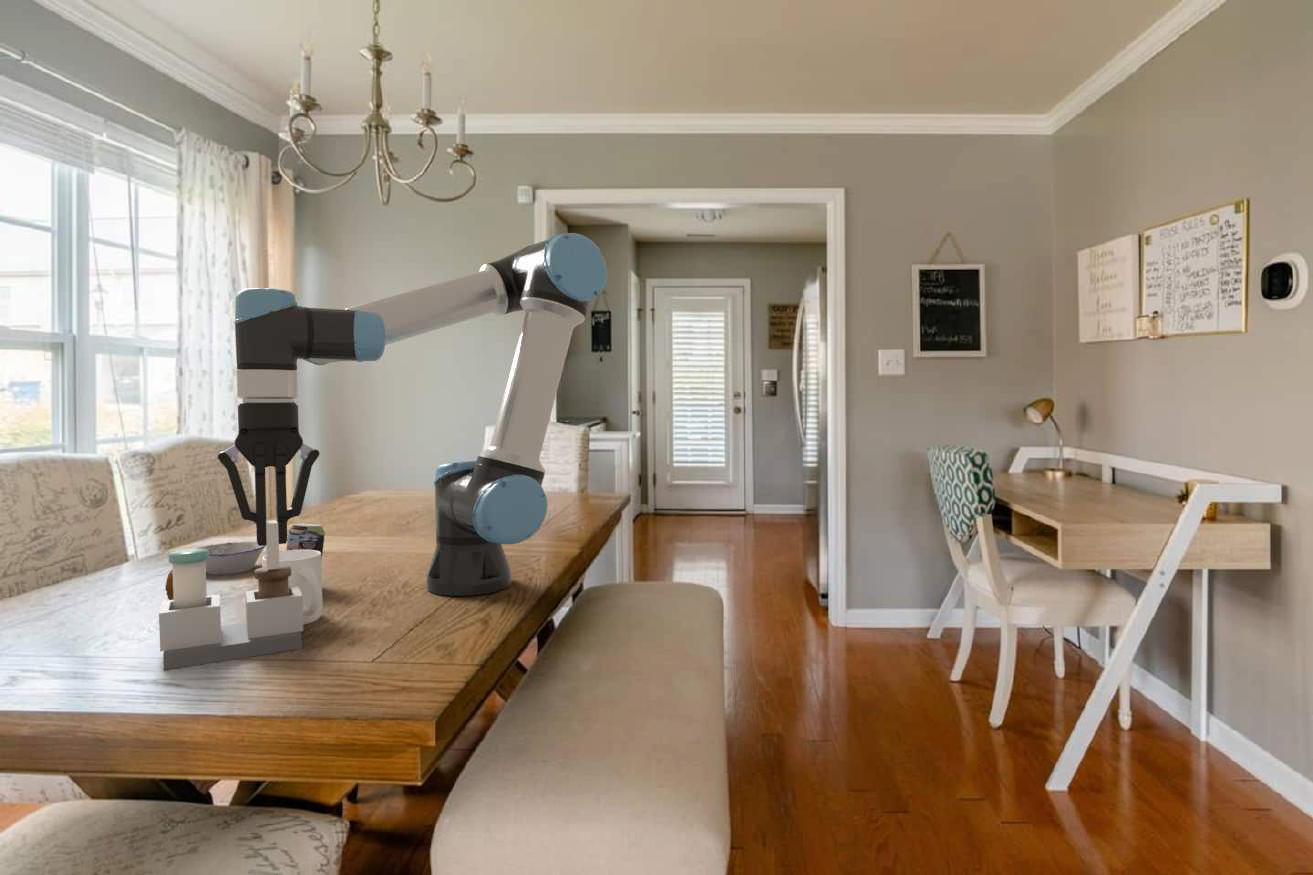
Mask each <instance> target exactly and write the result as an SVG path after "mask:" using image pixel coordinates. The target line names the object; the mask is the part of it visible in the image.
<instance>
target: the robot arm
mask: <svg viewBox="0 0 1313 875" xmlns="http://www.w3.org/2000/svg"><path fill="white" fill-rule="evenodd" d="M607 280H608V267H607V262H606V259H605V257H604V256H603V254H602V252H601V250H600V248H599V247H598V245H597V244H596V243H594V241H593V240H592V239H590V238H588V237H587V236H585V235H583V234H580V233H576V232H569V233H558V234H555V235H553V236H551V237H550V238H549V239H546V240H543V241H540V242H539V241H538V242H537V243H533V244H529V245H527V246H525V247H523V248H521V249H520V250H518V251H516V252H514V253H511V254H509V255H507V256H505V257H503V258H500V259H498V260H494V261H492V262H488V263H484V264H482V265H481V267H480V269H479V270H478V271H477V272H473V273H470V274H465V275H462V276H460V277H455V278H452V279H449V280H448V279H447V280H445V281H441V282H438V283H433V284H430V285H427V286H423V287H419V288H416V289H412V290H408V291H404V292H401V293H398V294H394V295H390V296H387V297H383V298H379V299H375V300H373V301H368V302H365V303H362V304H357V305H354V306H350V307H347V308H344V309H342V308H341V309H338V308H336V309H335V308H321V307H319V308H317V307H307V306H301V305H298V304H297V301H296V296H295V294H294V293H293V292H292V291H289V290H284V289H277V288H267V287H251V288H250V287H249V288H243V289H241V290H240V291H239V292H238V293H237V294H236V296H235V309H234V310H235V312H234V313H235V318H234V322H233V323H234V331H235V332H234V334H235V353H236V354H235V357H236V358H235V359H236V393H237V398H238V399H242V402H240V403H239V404H238V405H237V418H238V419H237V422H238V423H237V426H238V430H237V436H236V438H235V440H234V444H233V445H232V446H230V447H229V448H227V449H225V450H223V451H219V452H218V454H217V459H218V460H219V462H220V464H222V466H224V468H225V469H226V470H227V471H226V472H227V474H228V477H229V481H230V484H231V487H232V489H233V494H234V496H235V500H236V503H237V506H238V509H239V512H240V514H241V518H242V519H243V520H245V521H251V522H253V523H255V527H256V542H257V543H258V545H259V546H265V545H266V546H265V554H266V566H267V570H272V569H279V552H280V548H279V547H280V546H279V545H287V540H288V522H289V520H290V519H293V518H295V517H299V516H300V515H301V514H302V510H303V506H304V502H305V497H306V493H307V489H308V483H309V479H310V476H311V472H312V468H313V465H314V463H315V462H316V461H317V460H318V458H319V456H320V451H319V450H318V449H316V448H314V447H313V448H312V447H310V446H308V445H307V444H306V443H304V440H303V437H302V436H301V434H300V431H299V430H300V429H299V426H300V425H299V405H298V404H297V402H295V401H294V399H297V398H298V397H299V392H298V387H299V385H298V360H304V361H305V362H307V363H310V364H313V365H316V366H323V365H327V364H330V363H339V362H357V363H363V362H375V361H376V362H377V361H378V360H380V359H381V358H382V356H383V355H384V351H385V347H386V345H391V344H394V343H397V342H400V341H404V340H406V339H407V340H408V339H410V338H413V337H417V336H419V335H423V334H427V333H429V332H432V331H436V330H439V329H442V328H446V327H450V326H452V325H456V324H459V323H463V322H466V321H468V320H473V319H475V318H479V317H481V316H485V315H488V314H491V313H493V314H494V315H496V316H505V315H507V314H510V313H515V312H519V311H523V312H524V315H525V316H524V317H523V318H524V319H523V322H522V326H521V330H520V333H519V337H518V341H517V344H516V347H515V351H514V356H513V360H512V363H511V368H510V371H509V374H508V378H507V382H506V385H505V389H504V392H503V397H502V400H501V403H500V408H499V412H498V415H497V419H496V422H495V427H494V429H493V434H492V437H491V440H490V445H489V447H488V448H486V449H485V450H483V451H481V452H479V453H478V454H477V458H476V460H469V461H468V460H467V461H458V462H457V461H456V462H446V463H442V464H439V465H438V466H437V467H436V469H435V479H434V482H433V485H434V500H435V544H436V545H435V550H434V552H433V556H432V558H431V562H430V566H429V568H428V572H427V575H426V589H427V591H429V592H430V593H432V594H436V595H441V596H452V597H453V596H454V597H467V596H468V597H469V596H479V595H488V594H493V593H496V592H500V591H502V590H503V591H504V590H505V589H507V588H509V587H510V586H511V585H512V571H511V567H510V565H509V561H508V559H507V557H506V553H505V551H504V548H503V545H514V544H515V545H516V544H520V543H522V542H525V541H526V540H528V539H530V538H531V537H532V536H534V535H535V534H536V533H537V532H538V531H539V529H540V528H541V526H542V525H543V524H544V521H545V519H546V515H547V512H548V497H547V494H545V491H544V488H543V486H542V485H543V482H544V478H545V475H546V474H545V473H546V470H545V468H544V467H543V466H544V465H542V463H541V460H540V457H541V454H542V449H543V446H544V442H545V439H546V434H547V430H548V426H549V423H550V420H551V416H552V411H553V408H554V404H555V400H556V396H557V392H558V389H559V385H560V381H561V377H562V374H563V370H564V365H565V361H566V358H567V355H568V351H569V346H570V342H571V338H572V335H573V331H574V329H575V328H576V327H577V326H579V325H581V324H582V323H584V322H585V320H586V317H587V312H588V309H589V304H590V302H591V301H592V300H594V299H596V298H597V297H598V296H599V295H600V294H601V293H602V291H604V289H605V286H606V284H607ZM299 450H300V454H299V458H300V459H301V460H302V461H301V464H300V467H299V472H298V476H297V480H296V484H295V488H294V493H293V497H292V500H291V506H290V507H289V508H287V507H288V502H287V501H288V500H287V498H288V497H287V469H286V468H287V465H288V464H290V463H291V461H292V459H293V458H294V457H295V456H296V454H297V453H298V452H299ZM238 453H240V454H241V455H242V456H243V458H244V459H245V460H246V461H247V462H248V463H249V464H250V465H251V466H253V467H254V468H253V469H254V470H253V471H254V494H255V495H254V498H255V511H254V510H251V507H250V505H249V502H248V499H247V495H246V492H245V489H244V485H243V483H242V480H241V476H240V473H239V470H238V467H237V465H236V463H238V461H239V456H238ZM269 467H272V468H274V478H275V479H274V482H275V485H274V486H275V511H276V512H275V514H276V515H275V516H276V520H274V519H273V520H267V491H266V486H267V484H266V469H267V468H269Z"/></svg>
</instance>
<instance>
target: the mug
mask: <svg viewBox="0 0 1313 875" xmlns="http://www.w3.org/2000/svg"><path fill="white" fill-rule="evenodd" d="M261 560H262V561H261V562H262V563H261V565H262V566H261V568H262V567H267V566H266V555H264V556H262V558H261ZM279 565H283V566H290V567H291V576H289V577H288V586H295V585H298V587H299V589H300V592H301V594H302V603H303V626H305V625H308V624H312V623H315V622H316V621H318V620H319V619H320V618H321V617H322V614H323V578H322V577H323V574H322V572H323V571H322V561H321V552H320V551H316V550H288V551H286V550H281V551H279Z"/></svg>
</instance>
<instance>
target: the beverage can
mask: <svg viewBox="0 0 1313 875" xmlns="http://www.w3.org/2000/svg"><path fill="white" fill-rule="evenodd" d="M325 534H326V533H325V530H324V529H323V524H317V523H316V524H315V523H306V522H305V523H303V522H302V523H300V522H298V523H297V522H296V523H293V524H292V526H291V528H289V530H288V531H287V542H286V548H285V549H286V550H285V551H288V550H316V551H320V552H321V562H323V561H322V559H323V552H324V551H323V550H324V544H325Z"/></svg>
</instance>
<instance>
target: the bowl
mask: <svg viewBox="0 0 1313 875" xmlns="http://www.w3.org/2000/svg"><path fill="white" fill-rule="evenodd" d="M195 549H207V550H209V558H208V559H207V560H205V561H206V574H210V575H216V576H217V575H218V576H219V575H231V574H232V575H233V574H238V573H243V572H247V571H251V570H252V569H253V568H254V566H255V565H256V563H257V561H258V559H259V557H260V556H261V554H262V552H263V551H264V549H266V545H265V546H259V545H258V543H257V541H237V542H236V541H234V542H233V541H232V542H229V541H228V542H225V543H223V542H222V543H215V544H207V545H202V546H200V547H196V548H195Z"/></svg>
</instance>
